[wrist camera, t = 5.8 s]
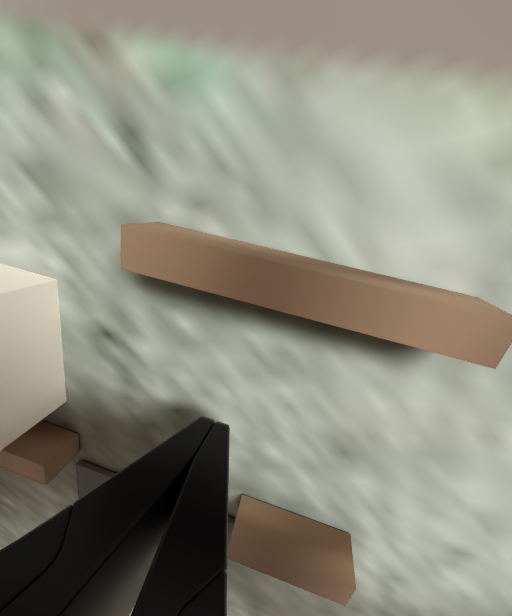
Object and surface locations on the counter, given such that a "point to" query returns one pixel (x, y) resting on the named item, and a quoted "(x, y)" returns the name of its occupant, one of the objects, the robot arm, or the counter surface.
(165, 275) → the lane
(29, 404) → the block
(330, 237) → the counter surface
